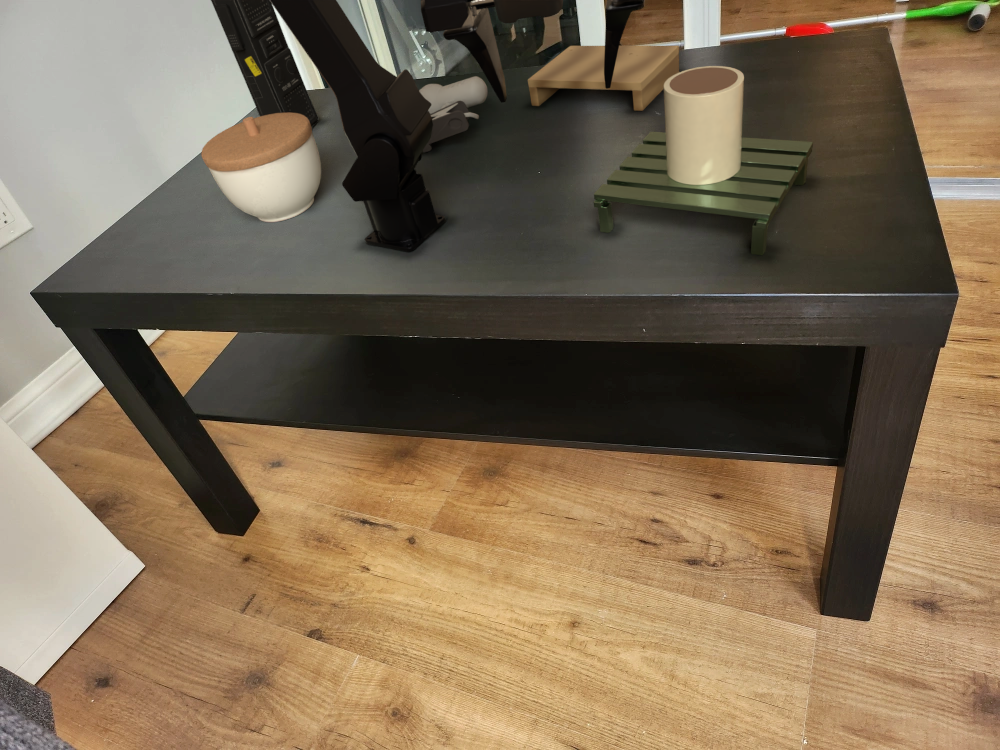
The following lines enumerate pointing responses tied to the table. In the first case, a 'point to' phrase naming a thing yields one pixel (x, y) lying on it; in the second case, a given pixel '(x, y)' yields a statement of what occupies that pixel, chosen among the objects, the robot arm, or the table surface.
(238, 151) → the lidded bowl
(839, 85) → the table surface
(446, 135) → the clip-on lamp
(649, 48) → the shelf
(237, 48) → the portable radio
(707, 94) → the cup
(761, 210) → the rack
